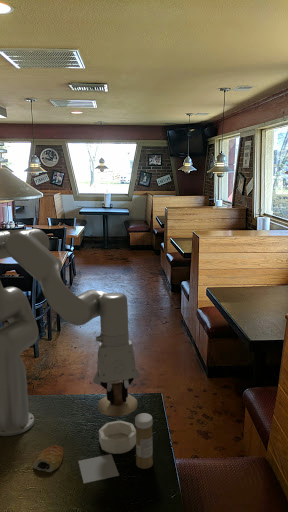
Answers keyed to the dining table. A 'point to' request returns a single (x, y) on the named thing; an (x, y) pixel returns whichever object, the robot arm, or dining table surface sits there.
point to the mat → (98, 468)
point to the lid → (117, 402)
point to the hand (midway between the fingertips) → (117, 400)
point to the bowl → (117, 437)
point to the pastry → (49, 459)
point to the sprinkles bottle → (144, 440)
